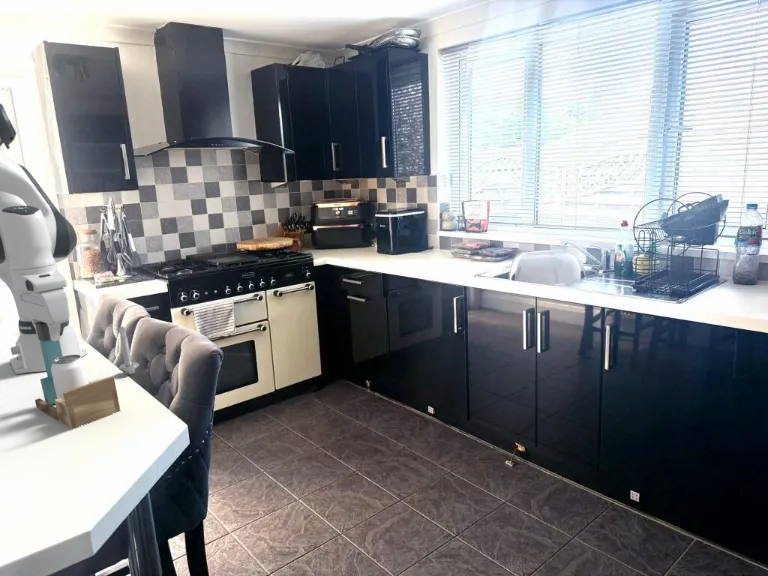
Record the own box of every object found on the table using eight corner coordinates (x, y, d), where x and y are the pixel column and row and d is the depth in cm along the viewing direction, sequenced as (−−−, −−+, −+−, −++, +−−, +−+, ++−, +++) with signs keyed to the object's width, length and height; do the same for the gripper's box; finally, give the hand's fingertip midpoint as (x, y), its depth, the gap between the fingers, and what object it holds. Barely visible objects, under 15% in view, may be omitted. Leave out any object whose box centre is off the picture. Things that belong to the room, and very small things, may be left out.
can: (85, 400, 126) (75, 352, 124) (97, 406, 122) (87, 356, 120) (55, 411, 122) (44, 361, 119) (67, 417, 118) (56, 366, 115)
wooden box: (36, 407, 124) (29, 375, 122) (82, 392, 132) (75, 361, 130) (72, 429, 112) (64, 393, 110) (120, 410, 119) (113, 376, 117)
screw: (119, 378, 140) (120, 372, 144) (139, 374, 141) (140, 368, 146) (110, 330, 137) (112, 325, 141) (131, 326, 138) (132, 322, 143)
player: (44, 402, 125) (27, 324, 121) (73, 393, 130) (57, 317, 126) (49, 405, 123) (32, 326, 119) (79, 395, 128) (63, 319, 124)
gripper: (4, 278, 125) (17, 335, 128) (37, 285, 112) (50, 348, 115) (34, 273, 129) (46, 328, 132) (69, 279, 117) (81, 340, 120)
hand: (48, 337), depth 124 cm, fingers open, 6 cm apart
